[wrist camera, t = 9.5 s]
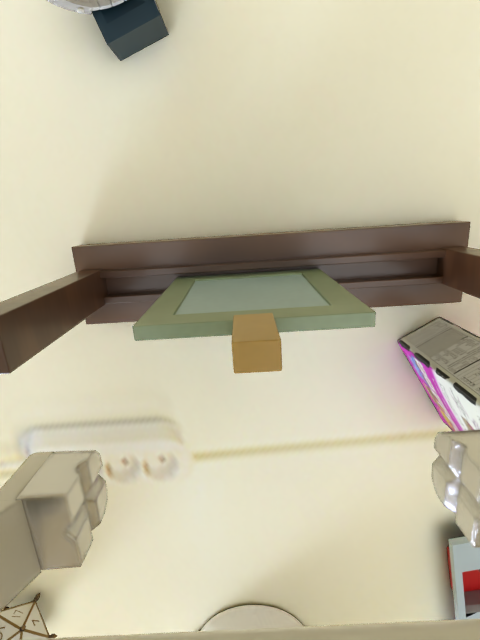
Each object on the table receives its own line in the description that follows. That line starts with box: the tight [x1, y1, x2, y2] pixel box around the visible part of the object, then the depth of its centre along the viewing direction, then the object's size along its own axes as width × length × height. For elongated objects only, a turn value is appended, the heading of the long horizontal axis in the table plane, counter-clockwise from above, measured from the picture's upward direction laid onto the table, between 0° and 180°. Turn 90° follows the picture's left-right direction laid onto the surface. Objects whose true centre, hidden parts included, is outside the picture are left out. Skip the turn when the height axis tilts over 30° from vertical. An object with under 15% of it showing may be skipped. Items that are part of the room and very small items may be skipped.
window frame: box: [0, 221, 480, 374], centre depth 26 cm, size 7×34×17 cm, turn 94°
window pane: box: [133, 268, 376, 373], centre depth 24 cm, size 1×12×18 cm, turn 94°
